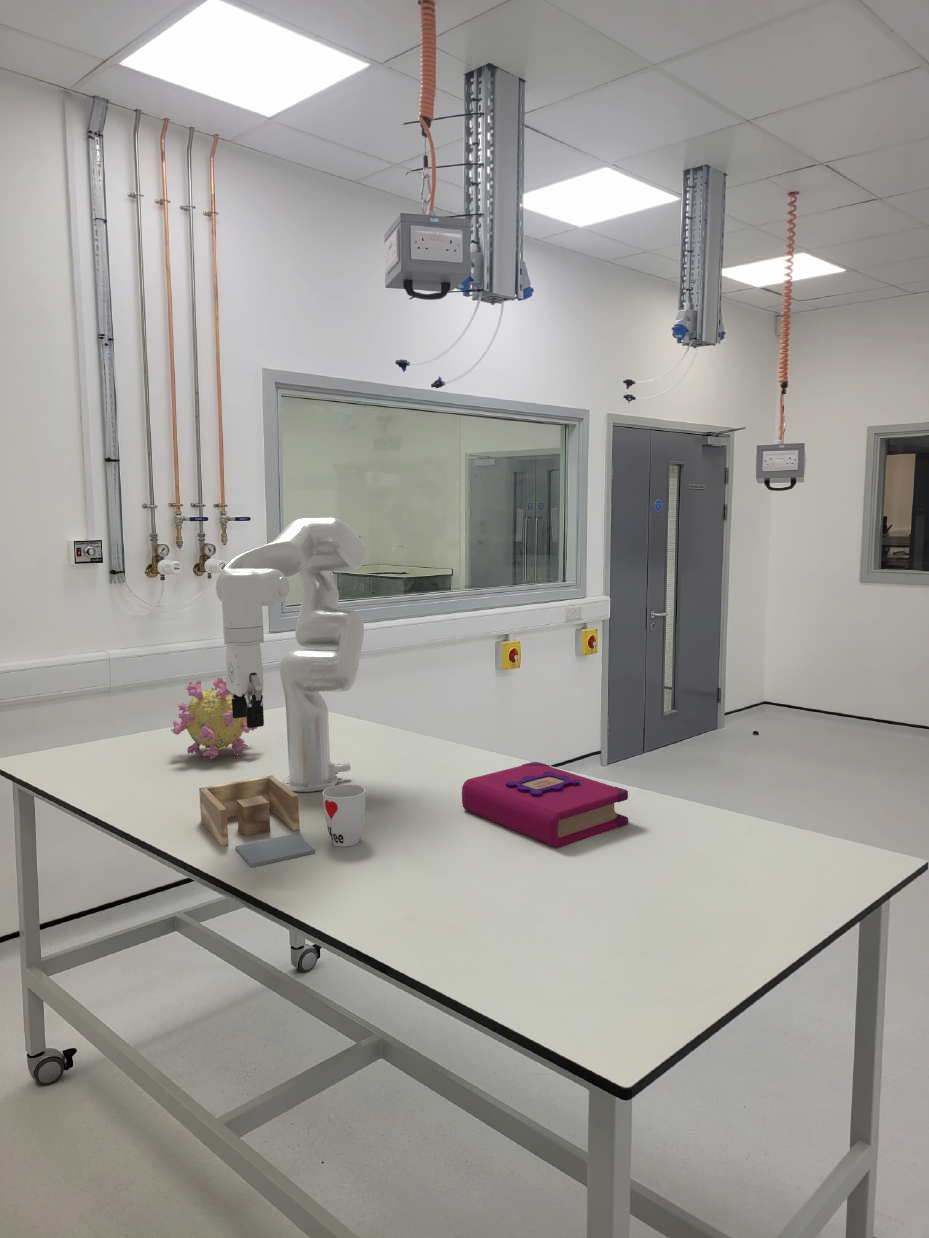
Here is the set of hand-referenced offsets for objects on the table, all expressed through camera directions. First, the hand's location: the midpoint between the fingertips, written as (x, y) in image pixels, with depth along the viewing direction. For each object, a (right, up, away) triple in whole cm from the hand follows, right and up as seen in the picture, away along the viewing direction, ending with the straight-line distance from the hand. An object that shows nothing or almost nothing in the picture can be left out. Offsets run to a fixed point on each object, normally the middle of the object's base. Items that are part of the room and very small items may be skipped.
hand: (248, 722), depth 171 cm
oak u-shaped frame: (-1, -22, +5) cm, 22 cm away
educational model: (-22, -16, +59) cm, 65 cm away
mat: (+7, -23, -8) cm, 26 cm away
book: (+59, -21, +7) cm, 63 cm away
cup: (+20, -23, -4) cm, 30 cm away
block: (+1, -22, +3) cm, 22 cm away
